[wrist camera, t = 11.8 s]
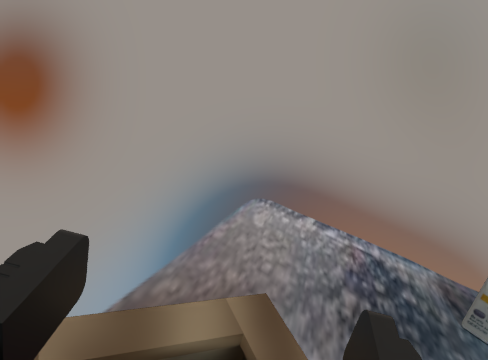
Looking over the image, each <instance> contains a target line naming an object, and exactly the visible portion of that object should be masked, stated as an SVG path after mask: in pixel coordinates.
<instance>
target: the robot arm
mask: <svg viewBox="0 0 488 360" xmlns="http://www.w3.org/2000/svg"><path fill="white" fill-rule="evenodd" d="M88 250H89V238H88V236H85V235H82V234H78V233H74V232H70V231H66V230H59V231H58V232H56V233H55V234H54V235H53V236H52V237H51V238H50V239H49V240H48V241H47V242H46V243H45V244H44V243H40V242H35V243H33V244H30V245H28V246H26V247H23V248H21V249H19V250H17V251H16V252H15V253H14V254H13V255H11V256H10V257H9V258H8V259H7V260H6V261H5V262H4V264H1V265H0V360H34V359H35V357H36V356H37V355H38V353H39V352H40V351H41V349H42V348H43V347H44V345H45V344H46V343H47V341H48V340H49V339H50V337H51V336H52V335H53V333H54V332H55V331H56V329H57V328H58V327H59V325H60V324H61V323H62V321H63V320H64V319H65V317H66V316H67V315H68V313H69V312H70V311H71V309H72V308H73V306H74V305H75V304H76V302H77V301H78V299H79V298H80V296H81V294H82V292H83V289H84V286H85V282H86V274H87V262H88ZM343 360H422V359H421V357H420V355H419V354H418V353H417V351H416V350H415V349H414V347H413V346H412V345H411V343H410V342H409V341H408V340H405V339H401V338H399V335H398V331H397V328H396V325H395V322H394V319H393V318H392V317H391V316H387V315H384V314H380V313H376V312H372V311H368V310H364V311H363V312H362V313H361V315H360V317H359V319H358V321H357V324H356V326H355V328H354V330H353V333H352V335H351V337H350V340H349V342H348V344H347V346H346V349H345V352H344V356H343Z"/></svg>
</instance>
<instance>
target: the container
mask: <svg viewBox="0 0 488 360" xmlns="http://www.w3.org/2000/svg"><path fill="white" fill-rule="evenodd" d="M461 325H462V326H463V328H465V329H466V330H468V331H469V332H470V333H472V334H473V335H475V336H476V337H478V338H479V339H480V340H482V341H483V342H485V343H486V344H488V278H487V280H486V282H485V283H484V285H483V287H482V288H481V290H480V292H479V293H478V295H477V297H476V299H475V300H474V302H473V304H472V305H471V307H470V309H469V311H468V312H467V314H466V316H465V317H464V319H463V321H462V324H461Z"/></svg>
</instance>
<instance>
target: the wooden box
mask: <svg viewBox="0 0 488 360" xmlns="http://www.w3.org/2000/svg"><path fill="white" fill-rule="evenodd" d="M34 360H308V359H307V358H306V356H305V354H304V353H303V351H302V350H301V348H300V346H299V345H298V343H297V342H296V340H295V339H294V337H293V335H292V334H291V332H290V331H289V329H288V327H287V326H286V324H285V323H284V321H283V319H282V318H281V316H280V315H279V313H278V312H277V310H276V308H275V307H274V305H273V304H272V302H271V300H270V299H269V297H268V296H267V294H266V293H265V294H257V295H248V296H240V297H232V298H223V299H215V300H207V301H198V302H190V303H182V304H173V305H165V306H157V307H148V308H140V309H132V310H123V311H115V312H107V313H98V314H90V315H82V316H73V317H65V319H64V320H63V321H62V323H61V324H60V325H59V327H58V328H57V329H56V331H55V332H54V333H53V335H52V336H51V337H50V339H49V340H48V341H47V343H46V344H45V345H44V347H43V348H42V349H41V351H40V352H39V353H38V355H37V356H36V357H35V359H34Z"/></svg>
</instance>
